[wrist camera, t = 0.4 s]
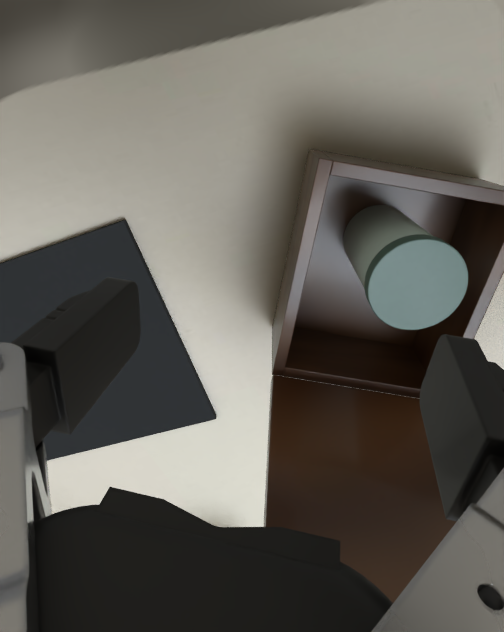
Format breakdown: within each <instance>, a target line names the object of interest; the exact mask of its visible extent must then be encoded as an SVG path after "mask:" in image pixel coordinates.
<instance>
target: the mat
mask: <svg viewBox="0 0 504 632" xmlns="http://www.w3.org/2000/svg"><path fill="white" fill-rule="evenodd" d="M107 277H110V278H116V279H122V280H128V281H134V282H136V284H137V286H138V290H139V308H140V326H141V335H140V341H139V344H138V347H137V349H136V351H135V353H134V354H133V355H132V357H131V358H130V359H129V361H128V362H127V363H126V364H125V366H124V367H123V368H122V369H121V371H120V372H119V373H118V375H117V376H116V377H115V378H114V380H113V381H112V382H111V384H110V385H109V386H108V387H107V389H106V390H105V391H104V392H103V394H102V395H101V396H100V398H99V399H98V400H97V401H96V403H95V404H94V405H93V407H92V408H91V409H90V410H89V412H88V413H87V414H86V415H85V417H84V418H83V419H82V421H81V422H80V423H79V424H78V426H77V427H76V428H75V429H74V431H73V432H72V433H71V435H68V434H64V433H59V432H55V431H50V432H49V433H48V434H47V435H46V437H45V438H44V443H45V447H46V458H47V460H51V459H55V458H59V457H63V456H67V455H71V454H75V453H79V452H83V451H88V450H92V449H96V448H100V447H104V446H108V445H112V444H116V443H120V442H124V441H128V440H132V439H136V438H140V437H145V436H149V435H153V434H157V433H161V432H165V431H169V430H173V429H177V428H181V427H185V426H189V425H193V424H197V423H202V422H206V421H210V420H214V419H216V414H215V412H214V409H213V407H212V405H211V403H210V401H209V399H208V396H207V394H206V392H205V390H204V388H203V386H202V384H201V381H200V379H199V377H198V375H197V373H196V371H195V368H194V366H193V364H192V362H191V360H190V358H189V355H188V353H187V351H186V349H185V347H184V345H183V343H182V340H181V338H180V336H179V334H178V332H177V330H176V327H175V325H174V323H173V321H172V319H171V317H170V315H169V312H168V310H167V308H166V306H165V304H164V302H163V299H162V297H161V295H160V293H159V291H158V289H157V286H156V284H155V282H154V280H153V278H152V276H151V274H150V271H149V269H148V267H147V265H146V263H145V261H144V258H143V256H142V254H141V252H140V250H139V248H138V245H137V243H136V241H135V239H134V237H133V235H132V233H131V230H130V228H129V226H128V224H127V222H126V220H122V221H119V222H117V223H114V224H111V225H108V226H105V227H102V228H100V229H97V230H94V231H91V232H88V233H85V234H82V235H80V236H77V237H74V238H71V239H68V240H65V241H63V242H60V243H57V244H54V245H51V246H48V247H45V248H43V249H40V250H37V251H34V252H31V253H28V254H26V255H23V256H20V257H17V258H14V259H11V260H8V261H6V262H3V263H0V342H5V343H11V342H13V341H14V340H15V339H17V338H18V337H19V336H20V335H22V334H23V333H24V332H26V331H27V330H28V329H29V328H31V327H32V326H33V325H35V324H36V323H37V322H39V321H40V320H41V319H42V318H46V315H48V314H49V313H50V312H51V311H53V310H56V308H57V307H58V306H59V305H60V304H62V303H63V302H64V301H66V300H67V299H68V298H71V297H73V296H76V295H78V294H81V293H83V292H86V291H88V292H89V291H90V290H91V289H93V288H94V287H95V286H96V285H98V284H99V283H100V282H101V281H103V280H104V279H105V278H107Z"/></svg>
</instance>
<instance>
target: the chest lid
mask: <svg viewBox="0 0 504 632" xmlns="http://www.w3.org/2000/svg"><path fill="white" fill-rule="evenodd" d="M456 522H457V521H452V520H448V519H446V518H445V513H444V509H443V505H442V500H441V496H440V492H439V487H438V483H437V479H436V474H435V470H434V466H433V462H432V457H431V453H430V449H429V444H428V440H427V436H426V431H425V427H424V423H423V418H422V414H421V410H420V399H418V398H412V397H406V396H400V395H394V394H388V393H381V392H375V391H369V390H363V389H357V388H351V387H344V386H338V385H332V384H326V383H320V382H314V381H307V380H301V379H295V378H289V377H283V376H277V375H273V377H272V381H271V393H270V412H269V432H268V452H267V471H266V491H265V510H264V527H284V528H288V529H292V530H296V531H301V532H305V533H309V534H314V535H318V536H322V537H326V538H331V539H335V540H339V541H340V562H342V563H344V564H346V565H348V566H349V567H351V568H353V569H354V570H356V571H357V572H359V573H360V574H362V575H363V576H364V577H366V578H367V579H368V580H369V581H371V582H372V583H373V584H374V585H375V586H377V587H378V588H379V589H380V590H381V591H382V592H383V593H384V594H385V595H386V596H387V597H388V598H389V599H390V600H391V602H392V603H394V602H395V600H396V599H397V598H398V597H399V595H400V594H401V593H402V591H403V590H404V589H405V588H406V586H407V585H408V584H409V582H410V581H411V580H412V579H413V577H414V576H415V575H416V573H417V572H418V571H419V570H420V568H421V567H422V566H423V564H424V563H425V562H426V561H427V559H428V558H429V557H430V555H431V554H432V553H433V551H434V550H435V549H436V548H437V546H438V545H439V544H440V542H441V541H442V540H443V539H444V537H445V536H446V535H447V533H448V532H449V531H450V530H451V528H452V527H453V526H454V524H455V523H456Z"/></svg>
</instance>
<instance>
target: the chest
mask: <svg viewBox="0 0 504 632" xmlns="http://www.w3.org/2000/svg"><path fill="white" fill-rule="evenodd" d="M374 205H388V206H391V207H394V208H396V209H398V210H399V211H401V212H402V213H403V214H405V215H406V216H407V217H409V218H410V219H411V220H413V221H414V222H415V223H416V224H418V225H419V226H420V227H422V228H423V229H424V230H426V231H427V232H428V233H430V234H431V235H432V236H435V237H437V238H440V239H442V240H444V241H445V242H447V243H448V244H449V245H451V246H452V247H454V248H455V249H456V250H457V251H458V252H459V253H460V255H461V256H462V257H463V259H464V261H465V263H466V266H467V270H468V286H467V290H466V293H465V295H464V298H463V299H462V301H461V303H460V304H459V306H458V307H457V308H456V309H455V311H454V312H453V313H452V314H451V315H449V316H448V317H447V318H446V319H444V320H443V321H441V322H439V323H438V324H435V325H433V326H431V327H427V328H424V329H419V330H403V329H398V328H394V327H392V326H390V325H388V324H386V323H384V322H383V321H382V320H380V319H379V318H378V317H377V316H376V314H375V313H374V312H373V310H372V308H371V306H370V304H369V302H368V300H367V298H366V295H365V289H364V287H363V285H362V283H361V281H360V279H359V278H358V276H357V274H356V272H355V270H354V268H353V266H352V264H351V262H350V260H349V259H348V257H347V255H346V253H345V250H344V245H343V237H344V232H345V229H346V227H347V225H348V223H349V222H350V220H351V219H352V218H353V217H354V216H355V215H356V214H357V213H358V212H360V211H361V210H363V209H365V208H367V207H370V206H374ZM503 273H504V186H501V185H498V184H495V183H491V182H488V181H485V180H482V179H477V178H472V177H466V176H460V175H455V174H449V173H443V172H438V171H432V170H427V169H421V168H415V167H410V166H404V165H398V164H393V163H387V162H382V161H376V160H370V159H365V158H359V157H353V156H348V155H342V154H337V153H331V152H325V151H320V150H314V149H309V152H308V157H307V161H306V166H305V171H304V176H303V181H302V186H301V191H300V195H299V200H298V205H297V210H296V215H295V220H294V225H293V229H292V234H291V239H290V244H289V249H288V254H287V259H286V263H285V268H284V273H283V278H282V283H281V288H280V293H279V297H278V302H277V307H276V312H275V317H274V322H273V327H272V375H278V376H284V377H291V378H297V379H303V380H309V381H315V382H321V383H328V384H334V385H340V386H346V387H352V388H358V389H364V390H371V391H377V392H383V393H389V394H395V395H401V396H408V397H414V398H420V390H421V386H422V382H423V380H424V377H425V374H426V371H427V369H428V366H429V363H430V360H431V358H432V355H433V352H434V350H435V347H436V344H437V342H438V339H439V338H440V336H441V335H443V334H446V335H452V336H458V337H464V338H470V339H474V337H475V335H476V333H477V330H478V328H479V326H480V324H481V322H482V319H483V317H484V315H485V313H486V310H487V308H488V306H489V304H490V302H491V299H492V297H493V295H494V293H495V290H496V288H497V286H498V284H499V281H500V279H501V277H502V275H503Z"/></svg>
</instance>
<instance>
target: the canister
mask: <svg viewBox="0 0 504 632" xmlns="http://www.w3.org/2000/svg"><path fill="white" fill-rule="evenodd" d="M343 245H344V250H345V253H346V255H347V257H348V259H349V260H350V262H351V264H352V266H353V268H354V270H355V272H356V274H357V276H358V278H359V279H360V281H361V283H362V285H363V287H364V289H365V295H366V298H367V300H368V302H369V304H370V306H371V308H372V310H373V312H374V313H375V314H376V316H377V317H378V318H379V319H380V320H382V321H383V322H384V323H386V324H388V325H390V326H392V327H394V328H398V329H403V330H419V329H424V328H427V327H431V326H433V325H435V324H438V323H439V322H441V321H443V320H444V319H446V318H447V317H448V316H449V315H451V314H452V313H453V312H454V311H455V309H456V308H457V307H458V306H459V304H460V303H461V301H462V299H463V298H464V295H465V293H466V290H467V286H468V270H467V266H466V263H465V261H464V259H463V257H462V256H461V255H460V253H459V252H458V251H457V250H456V249H455V248H454V247H452V246H451V245H449V244H448V243H447V242H445V241H444V240H442V239H440V238H437V237H435V236H432V235H431V234H430V233H428V232H427V231H426V230H424V229H423V228H422V227H420V226H419V225H418V224H416V223H415V222H414V221H413V220H411V219H410V218H409V217H407V216H406V215H405V214H403V213H402V212H401V211H399V210H398V209H396V208H394V207H391V206H388V205H374V206H370V207H367V208H365V209H363V210H361V211H360V212H358V213H357V214H356V215H355V216H354V217H353V218H352V219H351V220H350V222H349V223H348V225H347V227H346V229H345V232H344V237H343Z"/></svg>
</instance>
